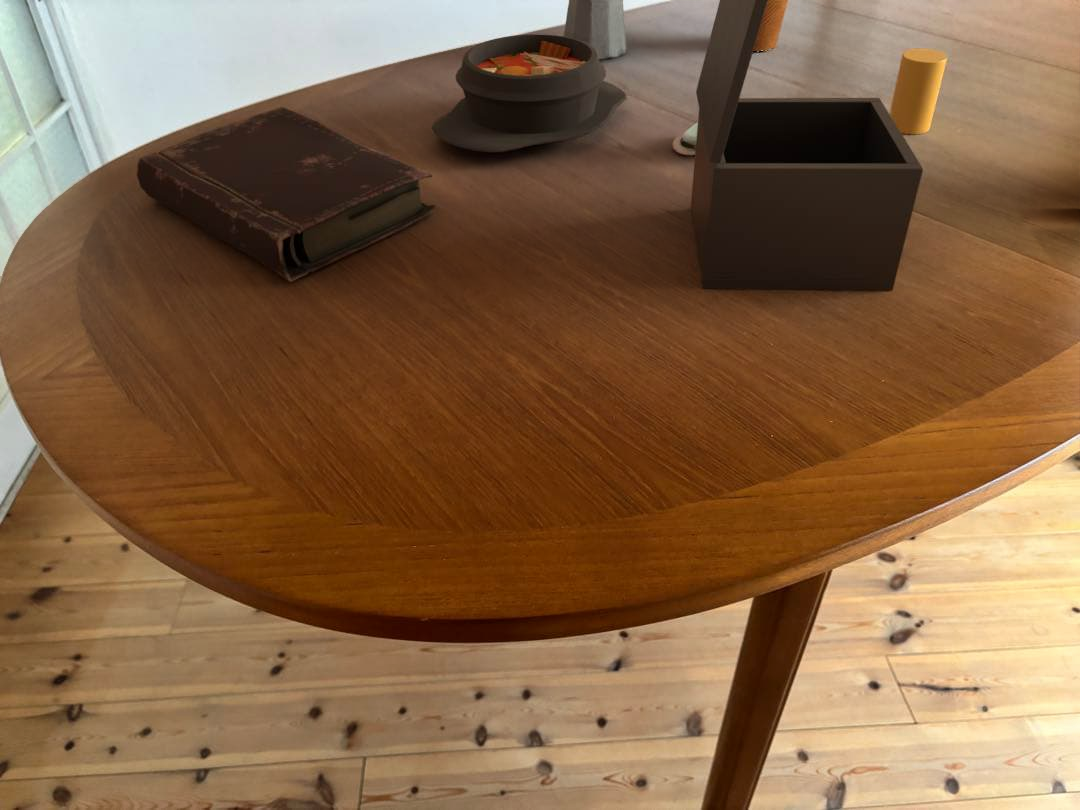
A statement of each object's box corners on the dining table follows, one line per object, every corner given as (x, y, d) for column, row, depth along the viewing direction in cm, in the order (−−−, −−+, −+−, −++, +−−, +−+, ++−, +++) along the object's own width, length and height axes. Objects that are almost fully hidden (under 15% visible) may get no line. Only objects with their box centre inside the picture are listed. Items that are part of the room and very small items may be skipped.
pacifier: (664, 158, 100) (718, 164, 98) (666, 101, 96) (722, 106, 94) (682, 133, 105) (734, 138, 103) (685, 78, 101) (739, 82, 99)
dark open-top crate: (856, 209, 89) (879, 97, 82) (892, 290, 78) (923, 168, 71) (690, 208, 90) (699, 98, 83) (702, 288, 79) (714, 168, 72)
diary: (283, 288, 80) (271, 237, 77) (145, 203, 94) (130, 157, 91) (442, 213, 91) (437, 165, 87) (296, 147, 104) (288, 103, 101)
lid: (760, -116, 72) (750, -118, 72) (789, -73, 61) (777, -76, 61) (705, 93, 83) (695, 92, 83) (720, 163, 71) (709, 161, 71)
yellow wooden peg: (923, 118, 106) (940, 48, 101) (934, 134, 103) (952, 62, 98) (882, 118, 106) (898, 48, 101) (892, 134, 103) (908, 62, 98)
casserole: (550, 80, 119) (549, 12, 114) (662, 116, 109) (666, 43, 103) (398, 138, 106) (389, 64, 100) (510, 185, 95) (506, 106, 90)
